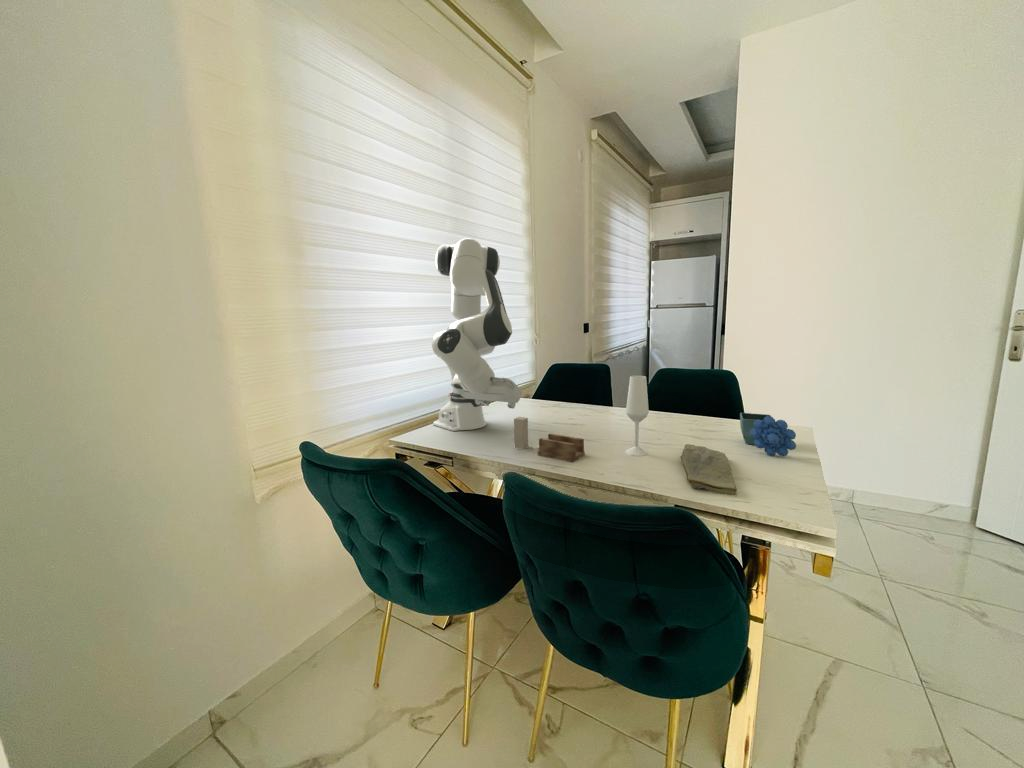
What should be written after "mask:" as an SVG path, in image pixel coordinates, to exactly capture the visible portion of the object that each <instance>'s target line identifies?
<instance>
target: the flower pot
mask: <svg viewBox="0 0 1024 768" xmlns="http://www.w3.org/2000/svg"><path fill="white" fill-rule="evenodd" d="M766 416H771V417H772V415H771V414H765V413H764V414H763V413H751V412H740V413H739V419H740V420H739V424H740V431H741V435H742V437H743V440H744V442H745V444H746V445H753V446H754V445H755V444H754V441H755V439H756V438H753V437H752V436H751V435H750V430H751V429H753V428H755V426H754V421H755V420H758V419H759V420H762V421H763V422H764V418H765V417H766Z"/></svg>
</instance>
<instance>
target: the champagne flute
mask: <svg viewBox="0 0 1024 768" xmlns="http://www.w3.org/2000/svg"><path fill="white" fill-rule="evenodd" d="M647 384H648V382H647V376H644V375H630V376H629V383H628V391H627V399H626V407H625V413H626V415H627V417H628V418H629V419H631V421H632V422H634V445H633V446H632V447H629V448H628V449H626V450H625V454H627V455H629V456H633V455H634V456H633V457H635V456H637V457H641V456H642V455H643V456H646V455H648V451H646V450H645V449H643V448H642V447H640V446H639V433H640V432H639V431H640V423H641V422H642V421H644V420H645V419H646V418H647V417H648V416H649V412H650V411H649V399H648V397H649V396H648V385H647Z"/></svg>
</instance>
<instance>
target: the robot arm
mask: <svg viewBox="0 0 1024 768" xmlns="http://www.w3.org/2000/svg"><path fill="white" fill-rule="evenodd" d="M434 258H435V259H434V262H435V266H436V270H437V272H438V273H439V274H440V275H442V276H445V277H450V278H449V279H450V282H451V295H450V296H451V300H450V301H451V304H450V306H451V307H450V312H451V314H452V316H453V317H454V318H455V319H456V321H454V322H452V323H450V324H449V325H448V327H447V328H446V330H442V331H439V332H436V333H435V334H434V335H433V338H432V340H431V348H432V352H433V353H434V354H435V355H436V356H437V357H438V358H439V359H441V360H442V361H443V362H444V363H445V364H446V365H447V367H448V369H449V371H450V375H451V383H450V385H451V387H452V392H451V393H449V392H448V397H450V399H449V401H448V402H447V403H446V404H445V405H444V406H443V407H442V408H440V409H439V412H438V419H437V420H434V421H433V423H432V424H433V426H435V427H439V428H442V429H445V430H449V431H453V432H456V431H464V430H465V431H467V430H468V431H469V430H477V429H481V428H483V427H485V426H486V425H487V422H486V420H485V417H484V411H483V406H485V407H490V406H489V405H490V404H491V402H501V403H507V407H508V408H509V409H515V408H516V404H517V403H519V401H520V400H521V398H522V394H523V392H522V390H521V389H520V387H519V385H517V384H516V383H515V382H514V381H513V380H512V379H510V378H508V377H497V376H495V372H494V370H493V369H492V367H490V365H489V363H488V362H487V361H486V360H485V358H483V357H482V356H485V355H489V354H492V353H493V352H494V350H495V348H496V347H497V346H503V345H505V344H507V343H508V342H509V340H510V338H511V337H512V334H513V329H512V324H511V321H510V318H509V316H508V314H507V310H506V306H505V303H504V299H503V295H502V292H501V289H500V285H499V282H498V281H497V279H496V275H497V274H498V271H499V269H500V264H501V261H500V255H499V253H498V251H497V249H495V248H493V247H490V246H483V245H481V244H480V243H479V241H477V240H475V239H473V238H468V237H467V238H462V239H460V240H459V241H458V242H456V243H455V244H451V245H450V243H449V244H448V243H447V244H442V245H440V246H439V247H438V248H437V251H436V253H435V257H434ZM482 296H485V297H484V298H485V299H486V304H487V305H486V306H487V308H485V310H484V311H482V308H481V300H482V299H481V297H482ZM481 311H482V312H481Z"/></svg>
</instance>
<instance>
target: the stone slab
mask: <svg viewBox="0 0 1024 768" xmlns="http://www.w3.org/2000/svg"><path fill="white" fill-rule="evenodd" d="M729 461H730V460H729V459H728V457H727V456H726V454H725V453H723V452H721V451H719V450H714V449H710V448H708V447H706V446H702V445H701V446H699V445H695V444H689V443H686V444H685V445H684V447H683V450H682V452H681V455H680V462H681V464H682V467H683V469H684V472H685V476H686V481H687V483H688V484H689V485H690V486H691V489H696V488H698V489H706V490H708V491H711V492H713V493H715V494H718V493H719V495H725V494H727V496H735V495H736V496H737V490H738V489H737V485H736V483H735V480H734V479H733V474H732V469H731V465H730V463H729Z"/></svg>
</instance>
